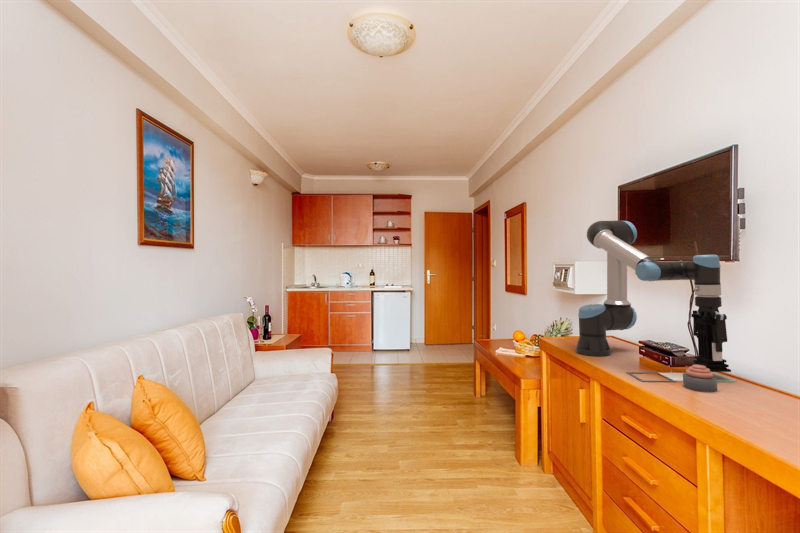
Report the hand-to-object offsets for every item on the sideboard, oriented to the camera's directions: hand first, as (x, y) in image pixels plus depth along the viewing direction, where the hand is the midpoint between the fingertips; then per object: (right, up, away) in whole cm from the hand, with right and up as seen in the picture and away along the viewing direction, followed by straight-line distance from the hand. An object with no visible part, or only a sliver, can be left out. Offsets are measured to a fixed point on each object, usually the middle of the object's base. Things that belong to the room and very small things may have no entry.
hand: (710, 358), depth 135 cm
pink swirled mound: (-13, -3, -11) cm, 17 cm away
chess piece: (0, -4, 0) cm, 4 cm away
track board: (-10, -8, +1) cm, 13 cm away
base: (-13, -8, -11) cm, 18 cm away
